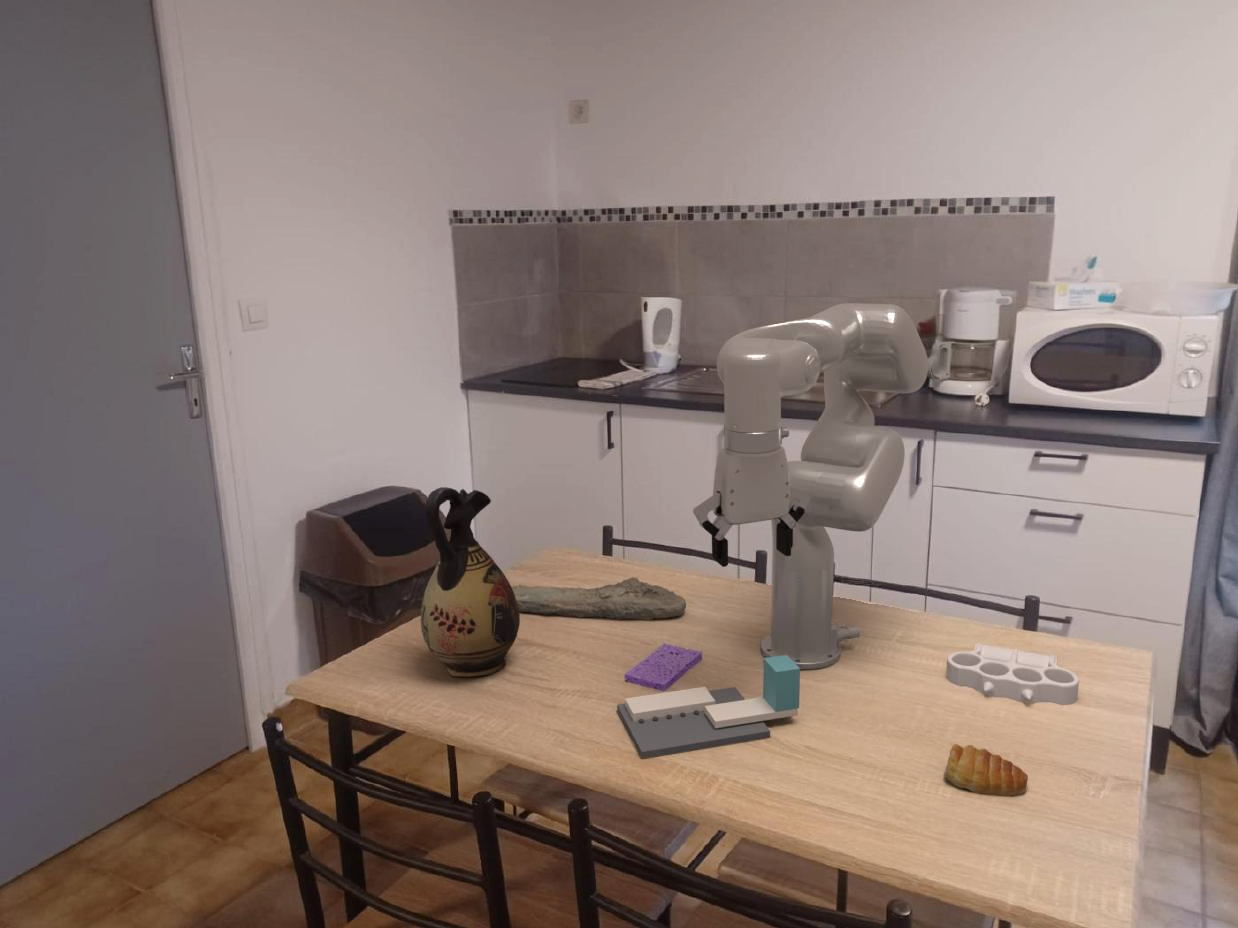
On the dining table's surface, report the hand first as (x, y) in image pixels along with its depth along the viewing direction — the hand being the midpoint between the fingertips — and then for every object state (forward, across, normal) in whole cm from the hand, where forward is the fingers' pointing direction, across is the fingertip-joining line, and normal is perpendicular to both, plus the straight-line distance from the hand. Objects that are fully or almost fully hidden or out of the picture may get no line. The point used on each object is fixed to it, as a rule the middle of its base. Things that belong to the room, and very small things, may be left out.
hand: (752, 558), depth 131 cm
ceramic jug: (+22, +38, -25) cm, 50 cm away
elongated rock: (+23, +13, -40) cm, 48 cm away
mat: (+22, +11, +4) cm, 25 cm away
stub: (+20, +3, +6) cm, 21 cm away
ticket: (+20, +13, +1) cm, 24 cm away
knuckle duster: (+23, -38, +9) cm, 45 cm away
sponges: (+23, +9, -13) cm, 28 cm away
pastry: (+22, -17, +28) cm, 40 cm away
